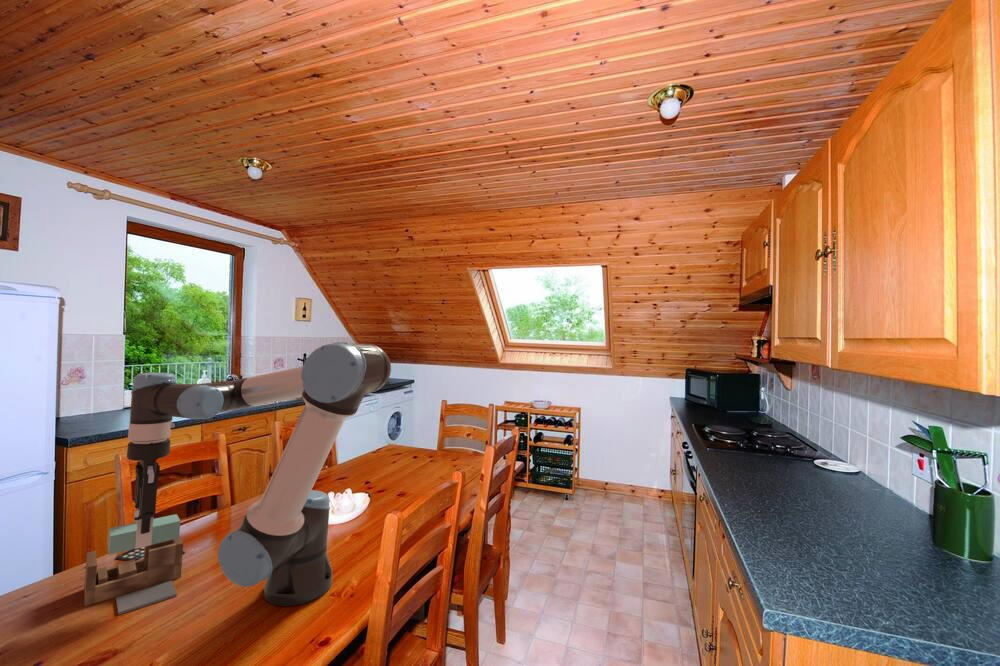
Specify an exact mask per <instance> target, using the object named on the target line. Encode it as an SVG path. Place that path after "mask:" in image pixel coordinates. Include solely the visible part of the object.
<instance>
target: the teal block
mask: <svg viewBox="0 0 1000 666" xmlns="http://www.w3.org/2000/svg"><path fill="white" fill-rule="evenodd" d="M136 529H137V522H136V523H134V522H133V523H132V522H131V523H128V524H123V525H117V526H113V527H109V528H108V538H107V551H108V555H109V556H110V555H114V554H118V553H125V552H127V551H129V550H132V549H135V542H136ZM180 529H181V519H180V518H179V516H178V514H177V513H176V514H170V515H166V516H161V517H157V518H156V517H155V518H153V530H152V543H151V545H152V544H157V543H161V542H165V541H169V540H173V539H177V538H179V536H180Z"/></svg>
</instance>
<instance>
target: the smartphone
mask: <svg viewBox="0 0 1000 666" xmlns="http://www.w3.org/2000/svg"><path fill="white" fill-rule="evenodd" d="M144 550H145V547H141V548H137V549H132V550H128V551H124V552H122V553H121V554H119V555H117V556H115V559H116V560H118V561H122V562H125V561H129V560H133V559H134V561H137V560H141V559H144ZM185 554H186V551H183V554H182V556H183V555H185Z"/></svg>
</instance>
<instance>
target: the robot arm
mask: <svg viewBox="0 0 1000 666" xmlns="http://www.w3.org/2000/svg"><path fill="white" fill-rule="evenodd" d="M391 372H392V364H391V360H390V358H389V356H388V354H387V353H386V352H385V351H384V350H383V349H382V348H381V347H379V346H378V345H375V344H371V343H349V342H344V341H343V342H342V341H341V342H340V341H338V342H333V343H328V344H324V345H321V346H319V347H318V348H316V349H314V350H313V351H312V352H311V353H309V355H308V356H307V358H306V359H305V361H304V363H303V364H302V366H299V367H298V366H297V367H294V368H289V369H283V370H280V371H275V372H269V373H265V374H261V375H255V376H249V377H245V378H239V379H234V380H226V381H225V380H224V381H218V382H217V381H215V382H207V383H206V382H203V383H193V384H192V383H191V384H189V383H177V381H176V375H175V374H174V373H171V372H143V373H138V374H136V375H135V376H134V378H133V384H132V389H131V390H130V393H131V397H130V398H131V402H130V414H129V423H128V434H127V440H128V441H129V442H128V443H127V448H126V449H127V450H126V458H127V460H129V461H133V462H137V463H136V465H135V469H134V470H135V471H134V472H135V490H134V491H135V493H134V500H133V503H134V508H135V509H134V516H133V523H136V522H137V529H136V542H135V549H137V548H141V547H146V546H150V545H151V543H152V530H153V519H154V517H155V516H156V514H157V513H156V507H157V495H158V494H157V493H158V483H159V477H160V472H161V466H160V464H159V462H157V460H158V459H162V458H165V457H168V456H169V454H170V452H171V439H170V437H171V436H172V435H171V434H172V429H173V428H175V425H176V424H175V423H174V422H172V421H173V417H174V418H182V419H189V420H194V421H195V420H196V421H197V420H209V419H211V418H213V417H214V416H216V415H217V414H218V413H219V414H220V413H225V412H229V411H230V412H231V411H235V410H243V409H249V408H251V407H255V406H261V405H267V404H272V403H278V402H283V401H287V400H289V401H290V400H293V399H299V398H302V399H303V402H304V403H305V405H304V407H303V409H302V411H301V413H300V416H299V418H298V420H297V422H296V425H294V428H293V431H292V433H291V435H290V437H289V439H288V441H287V443H286V445H285V448H284V449H283V452H282V454H281V456H280V459H278V463H277V465H276V467H275V468H274V472H273V473H272V476H271V477H270V479H269V482H268V483H267V487H266V488H265V490H264V492H263V495H262V497H261V498H260V500H257V501H255V502H254V503H252V504H251V505H250V506H249V508H248V509H247V511H246V514H245V515H244V517H243V519H242V522H241V523H240V525H239V527H238V528H237V529H236V530H233V531H231V532H229V533H228V534H227V535H226V536H225V537H223V539H222V540H221V542H220V543H219V546H218V549H217V559H218V561H217V562H218V564H219V565H220V569H221V572H222V573H223V574H224V576H225V577H226V578H227V580H229V581H230V582H231V583H233V584H235V586H240V587H245V588H246V587H247V588H249V587H252V586H256V585H258V584H260V583H261V582H263V581H264V580H266V581H265V583H264V590H263V591H264V593H263V597H264V599H265V600H266V602H268V603H269V604H270V605H273V606H280V607H292V606H300V605H304V604H306V603H307V604H308V603H310V602H312V601H314V600H316V599H318V598H320V597H322V596H323V595H324V594H326V593H327V592H328V591H329V590H330V588H331V586H332V583H333V569H332V568H333V567H332V565H331V563H330V558H329V556H328V552H327V548H328V536H329V535H328V534H329V520H330V517H329V516H330V510H331V507H330V496H329V495H328V494H327V493H325V492H323V491H321V490H313V487H314V485H315V483H316V481H317V479H318V477H319V475H320V473H321V471H322V468H323V467H324V464H325V463H326V460H327V458H328V456H329V453H330V452H331V450H332V448H333V445H334V444H335V441H336V439H337V437H338V436H339V432H340V431H341V429H342V426H343V425H344V423H345V420H346V419H347V418H350V417H352V416H355V415H356V414H357V411H358V410H359V408H360V405H361V403H362V401H363V400H364V399H363V398H364V396H365V395H368V394H372V393H374V392H377V391H379V390H380V389H382V388H383V387H384V386H385V385H386V383H387V382H388V380H389V378H390V375H391ZM155 518H156V517H155Z"/></svg>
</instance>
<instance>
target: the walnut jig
mask: <svg viewBox="0 0 1000 666" xmlns="http://www.w3.org/2000/svg"><path fill="white" fill-rule="evenodd" d="M183 550H184V541H183V540H182V537H181V536H180V535H179V538H177V539H173V540H169V541H165V542H161V543H157V544H152V545H150V546H146V547H145V550H144V559H141V560H137V561H134V559H133V560H129V561H122V562H119V563H118V562H117V565H115V566H111V567H108V568H107V566H103V567H98V562H97V561H98V559H97V558H98V557H97V550H91V551H88V552H87V553H86V558H85V559H86V560H85V570H84V571H85V573H84V584H83V586H84V587H83V596H84V597H83V598H84V607H87V606H91V605H94V604H96V603H97V604H98V603H99V602H104V601H106V600H110V599H113V598H116V597H119V596H122V595H126V594H129V593H132V592H135V591H139V590H142V589H145V588H149V587H152V586H155V585H159V584H162V583H165V582H169V581H174V580H176V579H179V578H181V577H182V565H183V555H184V554H183ZM182 554H183V555H182Z"/></svg>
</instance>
